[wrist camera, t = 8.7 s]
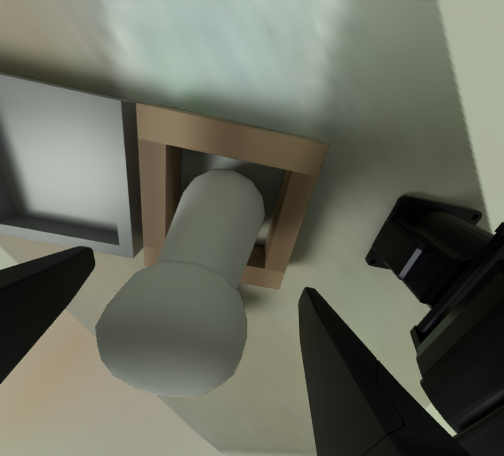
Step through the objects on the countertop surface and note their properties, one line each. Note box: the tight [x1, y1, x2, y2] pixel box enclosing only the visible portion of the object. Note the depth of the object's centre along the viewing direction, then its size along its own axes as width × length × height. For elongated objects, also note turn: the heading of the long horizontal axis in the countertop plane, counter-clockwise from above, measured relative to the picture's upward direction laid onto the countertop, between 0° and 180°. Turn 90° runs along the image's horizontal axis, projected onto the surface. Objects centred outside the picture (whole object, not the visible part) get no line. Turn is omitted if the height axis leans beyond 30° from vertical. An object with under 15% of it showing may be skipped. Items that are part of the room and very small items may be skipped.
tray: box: [0, 72, 143, 258], centre depth 15 cm, size 11×11×2 cm
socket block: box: [136, 103, 329, 289], centre depth 16 cm, size 11×11×3 cm
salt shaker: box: [95, 169, 265, 397], centre depth 11 cm, size 6×6×13 cm
